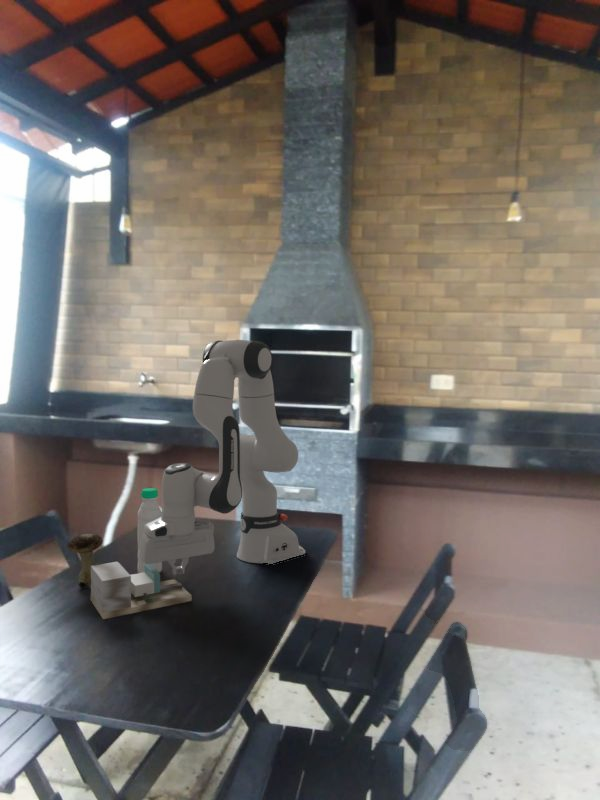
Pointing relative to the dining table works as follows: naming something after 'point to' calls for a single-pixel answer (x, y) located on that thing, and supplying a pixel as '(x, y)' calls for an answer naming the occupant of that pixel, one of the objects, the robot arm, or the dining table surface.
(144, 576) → the block with teal panel
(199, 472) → the robot arm
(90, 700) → the dining table surface
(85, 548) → the mushroom
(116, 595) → the frame
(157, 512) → the water bottle
